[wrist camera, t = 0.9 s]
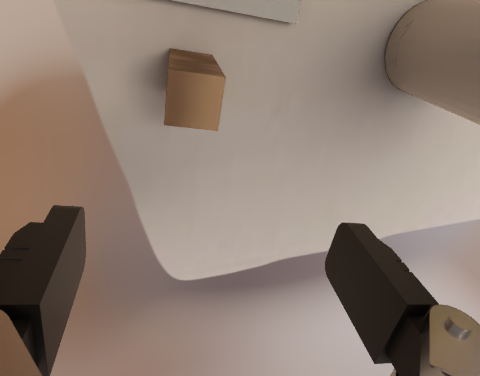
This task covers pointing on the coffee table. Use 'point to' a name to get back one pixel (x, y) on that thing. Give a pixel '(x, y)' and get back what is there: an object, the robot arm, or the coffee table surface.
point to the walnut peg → (193, 90)
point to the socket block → (256, 7)
